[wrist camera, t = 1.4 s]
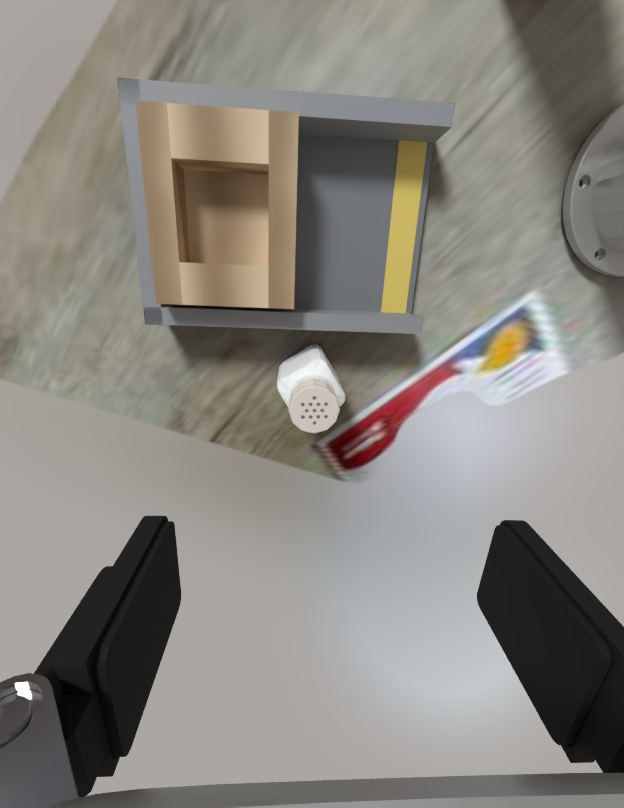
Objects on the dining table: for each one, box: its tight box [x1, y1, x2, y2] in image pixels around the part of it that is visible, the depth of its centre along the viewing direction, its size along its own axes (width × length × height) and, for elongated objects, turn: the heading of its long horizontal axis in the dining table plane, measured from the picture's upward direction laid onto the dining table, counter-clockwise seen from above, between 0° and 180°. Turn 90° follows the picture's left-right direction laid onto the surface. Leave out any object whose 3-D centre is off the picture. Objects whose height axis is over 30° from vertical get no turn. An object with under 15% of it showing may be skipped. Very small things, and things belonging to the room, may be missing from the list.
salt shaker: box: [277, 344, 346, 433], centre depth 27 cm, size 4×4×10 cm
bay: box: [117, 78, 455, 334], centre depth 26 cm, size 20×14×4 cm
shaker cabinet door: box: [135, 101, 299, 309], centre depth 24 cm, size 9×11×4 cm
